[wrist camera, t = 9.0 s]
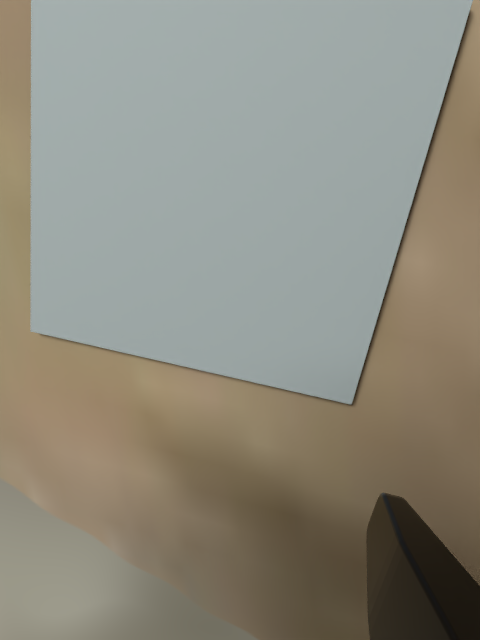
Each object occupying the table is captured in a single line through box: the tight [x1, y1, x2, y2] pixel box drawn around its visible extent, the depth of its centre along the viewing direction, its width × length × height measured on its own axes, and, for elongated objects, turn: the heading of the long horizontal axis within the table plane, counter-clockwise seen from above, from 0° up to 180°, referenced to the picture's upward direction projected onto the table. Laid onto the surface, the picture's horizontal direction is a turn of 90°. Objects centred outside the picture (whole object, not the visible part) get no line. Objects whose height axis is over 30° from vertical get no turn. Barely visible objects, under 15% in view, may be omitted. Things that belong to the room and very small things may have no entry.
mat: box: [31, 0, 473, 405], centre depth 19 cm, size 16×16×1 cm
